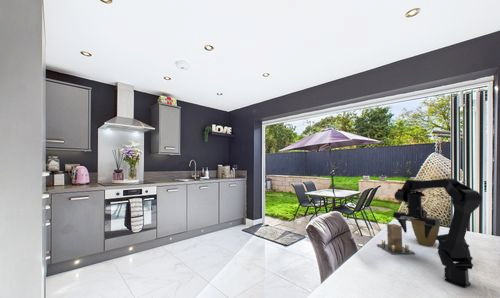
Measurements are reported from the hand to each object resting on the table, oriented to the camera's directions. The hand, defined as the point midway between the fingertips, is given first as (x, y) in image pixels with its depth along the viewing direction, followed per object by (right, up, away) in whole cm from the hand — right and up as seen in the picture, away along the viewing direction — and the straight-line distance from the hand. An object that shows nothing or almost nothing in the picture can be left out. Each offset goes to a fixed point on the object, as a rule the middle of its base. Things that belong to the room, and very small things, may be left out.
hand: (415, 235), depth 110 cm
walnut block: (-1, -13, +14) cm, 19 cm away
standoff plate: (-1, -14, +14) cm, 20 cm away
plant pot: (+25, -16, +25) cm, 39 cm away
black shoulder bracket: (+21, -14, +2) cm, 25 cm away
